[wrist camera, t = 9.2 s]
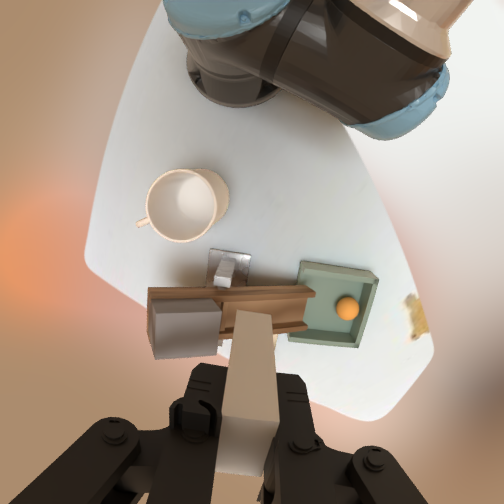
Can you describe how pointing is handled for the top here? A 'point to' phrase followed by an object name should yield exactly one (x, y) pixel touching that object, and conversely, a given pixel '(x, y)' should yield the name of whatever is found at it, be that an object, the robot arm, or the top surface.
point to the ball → (347, 308)
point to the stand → (227, 270)
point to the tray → (334, 304)
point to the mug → (185, 204)
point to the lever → (217, 315)
